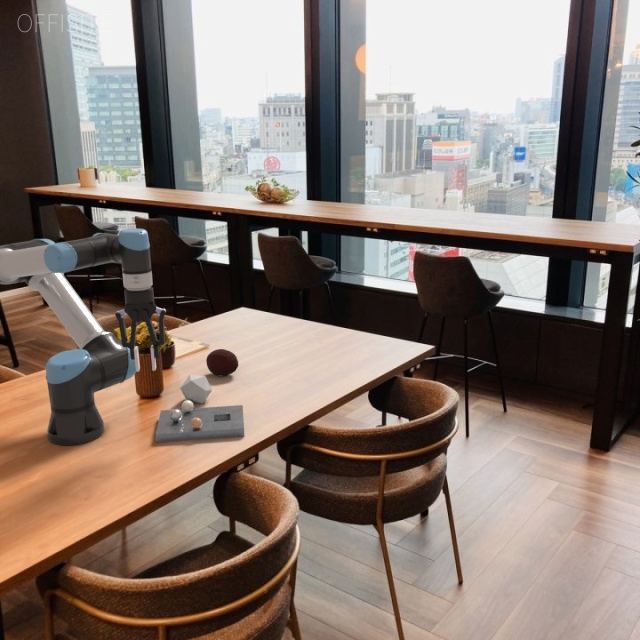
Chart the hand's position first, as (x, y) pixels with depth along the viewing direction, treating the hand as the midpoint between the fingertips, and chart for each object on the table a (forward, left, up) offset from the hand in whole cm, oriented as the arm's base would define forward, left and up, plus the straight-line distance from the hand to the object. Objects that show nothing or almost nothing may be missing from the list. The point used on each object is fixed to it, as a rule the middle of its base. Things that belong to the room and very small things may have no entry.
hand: (146, 369), depth 192 cm
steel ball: (+7, 0, -14) cm, 16 cm away
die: (+12, +19, -19) cm, 30 cm away
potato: (+20, +40, -19) cm, 49 cm away
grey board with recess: (+14, 0, -19) cm, 23 cm away
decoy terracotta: (+13, -6, -15) cm, 20 cm away
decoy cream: (+10, +6, -14) cm, 19 cm away
